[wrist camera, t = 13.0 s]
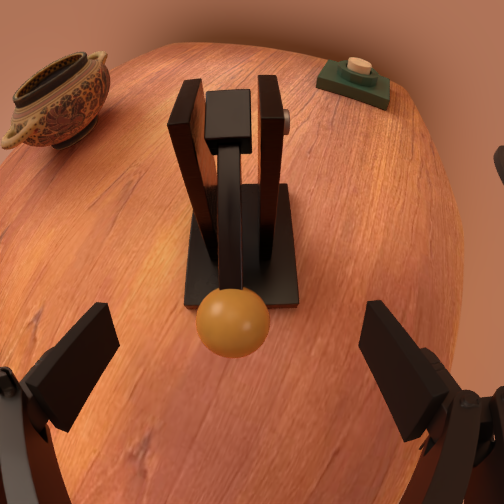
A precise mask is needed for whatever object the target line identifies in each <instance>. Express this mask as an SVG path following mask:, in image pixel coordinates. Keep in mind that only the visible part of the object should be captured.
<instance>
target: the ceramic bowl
mask: <svg viewBox="0 0 504 504" xmlns="http://www.w3.org/2000/svg"><path fill="white" fill-rule="evenodd" d="M106 59H107V53H106V52H104V51H100V52H96V53H93V54H91V55H89V56H88V57H87V54H86V53H85V52H77V53H74V54H71V55H68V56H65V57H63V58H61V59H59V60H57V61H55V62H53V63H51V64H49V65H48V66H46V67H44V68H43V69H41V70H40V71H39V72H37V73H36V74H34V75H33V76H32V77H31V78H29V79H28V80H27V81H26V82H25V83H24V84H23V85H22V86H21V87H20V88H19V89H18V90H17V91H16V93H15V94H14V96H13V101H14V103H15V105H16V107H15V110H14V112H13V115H12V119H11V127H10V129H9V130H8V132H7V133H6V134H5V135H4V137H3V138H2V141H1V146H2V148H3V149H13V148H15V147H17V146H18V145H20V144H21V143H25V144H27V145H30V146H36V147H44V146H50V145H51V146H52V147H53V148H54V149H56V150H62V149H65V148H67V147H70V146H72V145H73V144H75V143H77V142H78V141H80V140H81V139H83V138H84V137H85V136H86V135H87V134H88V133H89V132H90V131H91V130H92V129H93V128H94V126H95V125H96V123H97V121H98V115H97V113H98V112H99V111H100V109H101V107H102V106H103V104H104V102H105V100H106V98H107V95H108V92H109V88H110V75H109V71H108V69H107V67H106V66H105V61H106Z"/></svg>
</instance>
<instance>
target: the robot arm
mask: <svg viewBox="0 0 504 504" xmlns="http://www.w3.org/2000/svg"><path fill="white" fill-rule="evenodd" d="M119 346H120V344H119V341H118V338H117V334H116V331H115V328H114V325H113V321H112V318H111V314H110V311H109V307H108V303H100V302H96V303H95V304H94V305H93V306H92V307H91V308H90V309H89V310H88V311H87V312H86V313H85V314H84V315H83V316H82V317H81V318H80V319H79V320H78V321H77V323H76V324H75V325H74V326H73V327H72V328H71V329H70V330H69V331H68V332H67V333H66V334H65V336H64V337H63V338H62V339H61V340H60V341H59V342H58V343H57V344H56V346H55V347H52V348H51V349H49V350H48V351H46V352H45V353H44V354H43V355H42V356H41V358H40V360H38V361H37V362H36V363H35V365H34V366H33V367H32V368H31V369H30V370H29V372H28V373H27V374H26V375H25V376H24V378H23V379H22V380H21V381H20V383H19V382H18V381H17V379H16V377H15V375H14V374H13V372H12V370H11V369H10V368H9V367H0V504H72V503H71V501H70V498H69V496H68V493H67V490H66V487H65V484H64V481H63V478H62V475H61V472H60V469H59V465H58V462H57V458H56V454H55V451H54V447H53V442H52V438H51V433H50V429H49V427H48V425H47V424H46V423H47V422H48V420H50V421H51V422H52V424H53V425H54V426H55V428H57V429H60V430H62V431H65V432H67V433H68V432H69V431H70V429H71V427H72V425H73V423H74V421H75V420H76V418H77V416H78V414H79V413H80V411H81V409H82V407H83V405H84V404H85V402H86V400H87V399H88V397H89V395H90V393H91V392H92V390H93V388H94V387H95V385H96V383H97V382H98V380H99V378H100V377H101V375H102V373H103V372H104V370H105V369H106V367H107V365H108V364H109V362H110V361H111V359H112V357H113V356H114V354H115V353H116V351H117V349H118V348H119ZM358 346H359V348H360V350H361V352H362V354H363V356H364V358H365V360H366V362H367V364H368V366H369V368H370V370H371V372H372V374H373V376H374V378H375V380H376V382H377V384H378V386H379V388H380V391H381V393H382V395H383V397H384V399H385V401H386V403H387V405H388V408H389V410H390V412H391V414H392V416H393V418H394V421H395V423H396V425H397V427H398V430H399V432H400V434H401V436H402V439H403V441H404V442H408V441H411V440H414V439H416V438H419V437H421V435H422V434H423V432H424V431H425V430H426V429H427V430H428V432H429V436H428V437H427V438H426V440H425V441H424V442H423V444H422V445H421V446H420V448H419V450H421V449H422V448H423V450H422V453H421V456H420V458H419V461H418V463H417V466H416V468H415V471H414V473H413V475H412V477H411V480H410V482H409V484H408V486H407V488H406V490H405V493H404V495H403V497H402V499H401V501H400V502H399V504H462V503H463V500H464V504H504V386H501V387H499V388H498V389H497V390H496V392H495V393H494V395H493V396H492V397H482V398H480V397H479V395H477V394H476V393H475V392H473V391H470V390H462V389H461V388H460V387H459V385H458V384H457V383H456V381H455V380H454V378H453V377H452V376H451V374H450V373H449V372H448V370H447V369H445V367H444V365H443V364H442V363H440V360H439V359H438V357H437V356H436V355H435V354H434V353H433V352H431V351H430V350H428V349H427V348H421V349H419V347H418V346H417V345H416V343H415V342H414V341H413V340H412V338H411V337H410V336H409V334H408V333H407V332H406V331H405V329H404V328H403V327H402V326H401V324H400V323H399V322H398V321H397V319H396V318H395V317H394V316H393V314H392V313H391V312H390V311H389V309H388V308H387V307H386V306H385V305H384V303H383V302H382V301H381V300H376V301H367V306H366V311H365V316H364V321H363V326H362V331H361V336H360V340H359V344H358ZM494 435H495V441H494Z"/></svg>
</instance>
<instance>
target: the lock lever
mask: <svg viewBox="0 0 504 504" xmlns="http://www.w3.org/2000/svg"><path fill="white" fill-rule="evenodd" d="M204 140H205V142H206V144H207V146H208V148H209V151H210V153H211V155H217V220H218V269H219V288H217V289H216V290H214V291H212V292H211V293H209V294H208V295H207V296H206V297H205V298H204V299H203V301H202V302H201V304H200V306H199V308H198V311H197V315H196V328H197V332H198V335H199V337H200V339H201V341H202V342H203V344H204V345H205V346H206V347H207V348H208V349H209V350H210V351H212V352H213V353H215V354H217V355H219V356H222V357H226V358H241V357H244V356H247V355H249V354H251V353H253V352H255V351H256V350H257V349H258V348H259V347H260V346H261V345H262V344H263V342H264V341H265V339H266V337H267V335H268V332H269V328H270V316H269V312H268V309H267V307H266V305H265V303H264V302H263V300H262V299H261V298H260V297H259V296H258V295H257V294H256V293H255V292H253V291H252V290H250V289H248V288H245V287H244V282H243V237H242V180H241V154H251V153H252V133H251V91H250V89H235V90H218V91H207V92H206V103H205V125H204Z"/></svg>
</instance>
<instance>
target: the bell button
mask: <svg viewBox="0 0 504 504" xmlns="http://www.w3.org/2000/svg"><path fill="white" fill-rule="evenodd" d="M371 67H372V65H371V64H370V63H369V62H367V61H365V60H362V59H359V58H353V57H352V58H349V60H348V65H347V68H348V69H350V70H352V71H354V72H357V73H360V74H366V75H369V74H370V71H371Z"/></svg>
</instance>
